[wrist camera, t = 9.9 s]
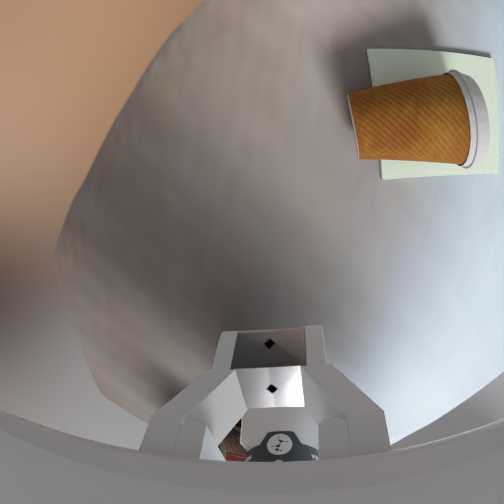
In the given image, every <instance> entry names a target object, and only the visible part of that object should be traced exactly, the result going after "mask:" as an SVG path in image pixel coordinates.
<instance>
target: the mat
mask: <svg viewBox="0 0 504 504" xmlns="http://www.w3.org/2000/svg"><path fill="white" fill-rule="evenodd" d="M366 51H367V57H368V62H369V68H370V75H371V81H372V87H375V86H380V85H385V84H390V83H394V82H400V81H405V80H411V79H416V78H423V77H429V76H436V75H443V73H445V72H448V71H449V70H453V69H454V70H457V71H459V72H460V73H462V74H465V75H469V76H470V77H472V78H473V79H474V80H475V82H476V83H477V84H478V86H479V88H480V90H481V92H482V94H483V97H484V100H485V103H486V106H487V110H488V116H489V124H490V142H489V148H488V152H487V155H486V157H485V159H484V160H483V161H482V162H481V163H479V164H475V165H474V166H473V167H472V168H470V169H466V168H463V167H462V166H458V165H456V164H449V163H436V162H422V161H404V160H380V172H381V179H382V180H385V179H397V178H411V177H426V176H443V175H464V174H493V173H498V170H499V109H498V93H497V82H496V73H495V65H494V59H493V58H488V57H482V56H475V55H468V54H460V53H452V52H442V51H430V50H414V49H366Z"/></svg>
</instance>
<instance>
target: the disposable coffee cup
mask: <svg viewBox="0 0 504 504" xmlns="http://www.w3.org/2000/svg"><path fill="white" fill-rule="evenodd" d="M347 98H348V103H349V109H350V114H351V120H352V125H353V130H354V136H355V142H356V147H357V153H358V157H359V159H378V160H404V161H422V162H436V163H449V164H456V165H458V166H462V167H463V168H466V169H470V168H472V167H473V166H474V165H475V164H479V163H481V162H482V161H483V160H484V159H485V157H486V155H487V152H488V148H489V142H490V124H489V116H488V110H487V106H486V103H485V100H484V97H483V94H482V92H481V90H480V88H479V86H478V84H477V83H476V82H475V80H474V79H473V78H472V77H470V76H469V75H465V74H462V73H460V72H459V71H457V70H454V69H453V70H449V71H448V72H445V73H443V75H436V76H429V77H423V78H416V79H411V80H405V81H400V82H394V83H390V84H385V85H380V86H375V87H371V88H366V89H362V90H358V91H353V92H349V93H348V94H347Z"/></svg>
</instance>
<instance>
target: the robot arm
mask: <svg viewBox="0 0 504 504" xmlns="http://www.w3.org/2000/svg"><path fill="white" fill-rule="evenodd" d="M240 419H242V422H241V434H240V444H241V445H242V446H243V447H244V448H245V449H246V450H247V451H248V452H247V456H246V460H245V462H240V461H226V460H225V459H224V457H223V455H222V453H221V451H220V450H219V448H218V445H219V444H220V443H221V441H222V440H223V439H224V438H225V437H226V436H227V434H228V433H229V432H230V431H231V430H232V428H233V427H234V426H235V425H236V424H237V422H238V421H239V420H240ZM0 504H504V419H501V420H498V421H495V422H493V423H490V424H488V425H485V426H482V427H479V428H476V429H473V430H470V431H467V432H464V433H461V434H457V435H454V436H450V437H447V438H443V439H440V440H436V441H432V442H428V443H424V444H419V445H415V446H411V447H406V448H401V449H396V450H391V447H390V441H389V436H388V430H387V425H386V420H385V415H384V411H383V410H382V409H381V408H380V407H379V406H378V405H377V404H376V403H374V402H373V401H372V400H371V399H370V398H369V397H368V396H367V395H366V394H364V393H363V392H362V391H361V390H360V389H359V388H358V387H357V386H356V385H355V384H353V383H352V382H351V381H350V380H349V379H348V378H347V377H346V376H345V375H344V374H343V373H341V372H340V371H339V370H338V369H337V368H336V367H335V366H334V365H333V364H327V362H326V353H325V343H324V335H323V326H322V325H321V324H320V325H311V326H305V327H294V328H282V329H268V330H241V331H223V332H222V333H221V335H220V338H219V342H218V346H217V350H216V353H215V357H214V361H213V365H212V369H211V370H206V371H205V372H203V373H202V374H201V375H200V376H199V377H198V378H196V379H195V380H194V381H193V382H192V383H191V384H189V385H188V386H187V387H186V388H185V389H183V390H182V391H181V392H180V393H179V394H177V395H176V396H175V397H174V398H173V399H171V400H170V401H169V402H168V403H166V404H165V405H164V406H163V407H162V408H160V409H159V410H158V411H157V412H155V413H154V414H153V415H152V416H151V418H150V421H149V424H148V427H147V429H146V432H145V435H144V438H143V440H142V443H141V446H140V448H139V451H138V450H133V449H128V448H123V447H118V446H114V445H109V444H105V443H101V442H97V441H93V440H89V439H85V438H82V437H78V436H74V435H71V434H68V433H64V432H61V431H58V430H55V429H52V428H49V427H46V426H43V425H40V424H37V423H35V422H32V421H29V420H26V419H24V418H21V417H19V416H16V415H14V414H11V413H9V412H6V411H4V410H2V409H0Z"/></svg>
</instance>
